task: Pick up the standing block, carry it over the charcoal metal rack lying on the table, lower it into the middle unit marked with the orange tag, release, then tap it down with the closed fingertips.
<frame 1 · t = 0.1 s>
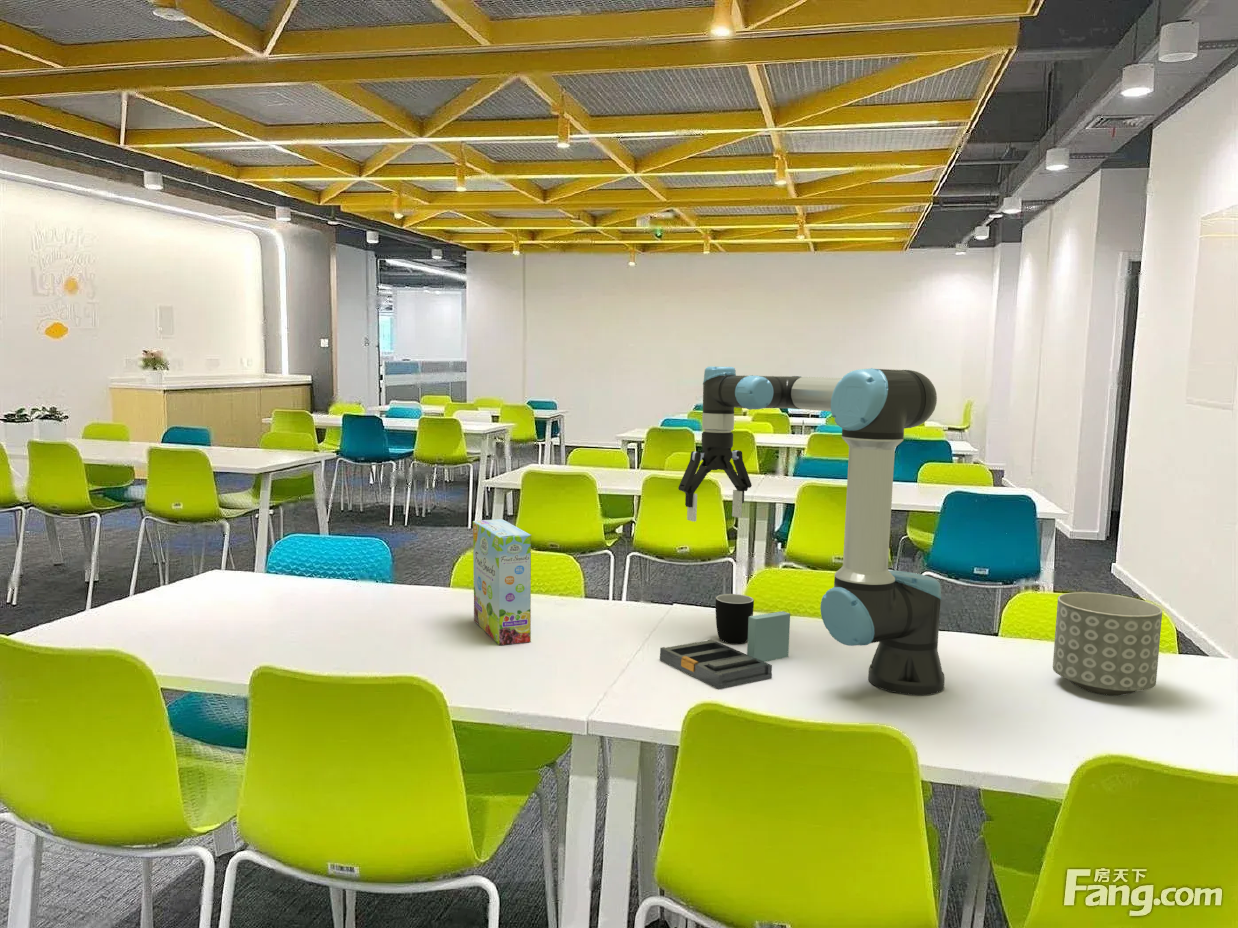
hand: (714, 518, 225), 28 cm above the table, fingers open, 13 cm apart
planter: (1101, 689, 193), on the table
rack: (714, 668, 200), on the table
snack box: (500, 632, 223), on the table
block: (767, 658, 207), on the table
mug: (733, 639, 223), on the table
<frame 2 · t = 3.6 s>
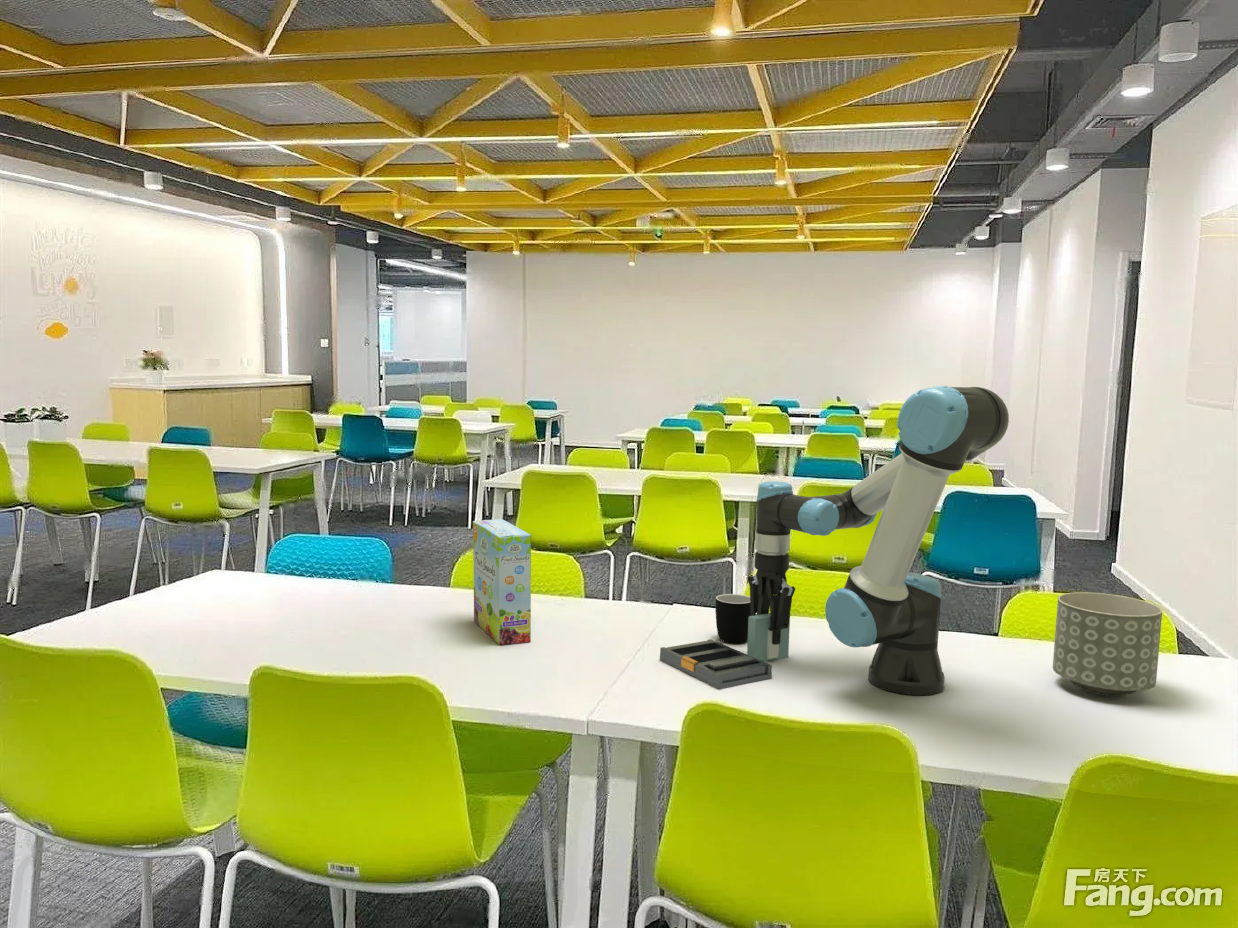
hand: (767, 655, 207), 1 cm above the table, fingers closed on block, 2 cm apart
block: (767, 658, 207), on the table, touching gripper
everything else where it was.
when the fingers open (4 cm above the table, at t = 7.8 s): block drops 2 cm, resting on rack.
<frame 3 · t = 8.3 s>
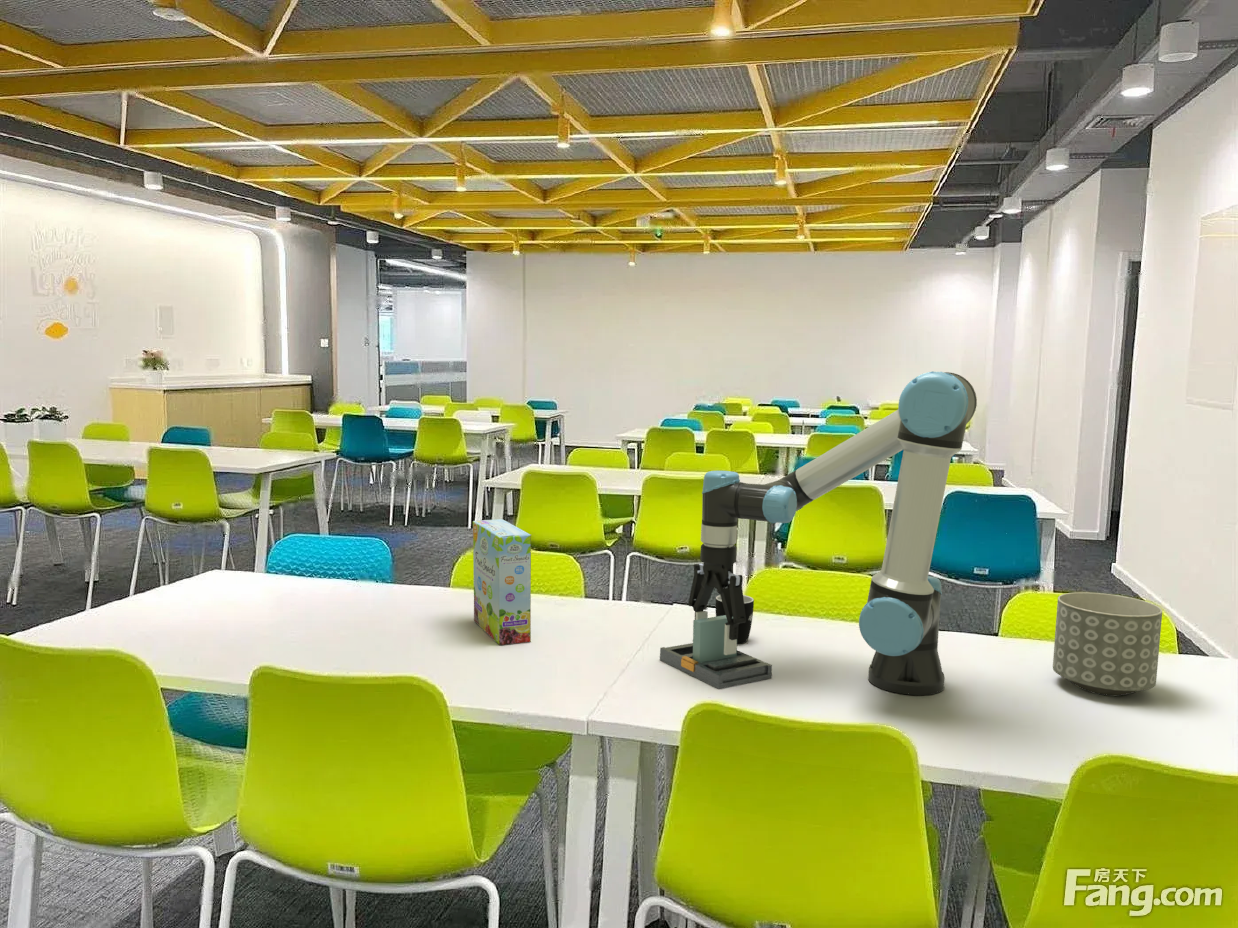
hand: (715, 647, 199), 5 cm above the table, fingers open, 9 cm apart
block: (714, 664, 199), point 1 cm above the table, touching rack
everything else where it was.
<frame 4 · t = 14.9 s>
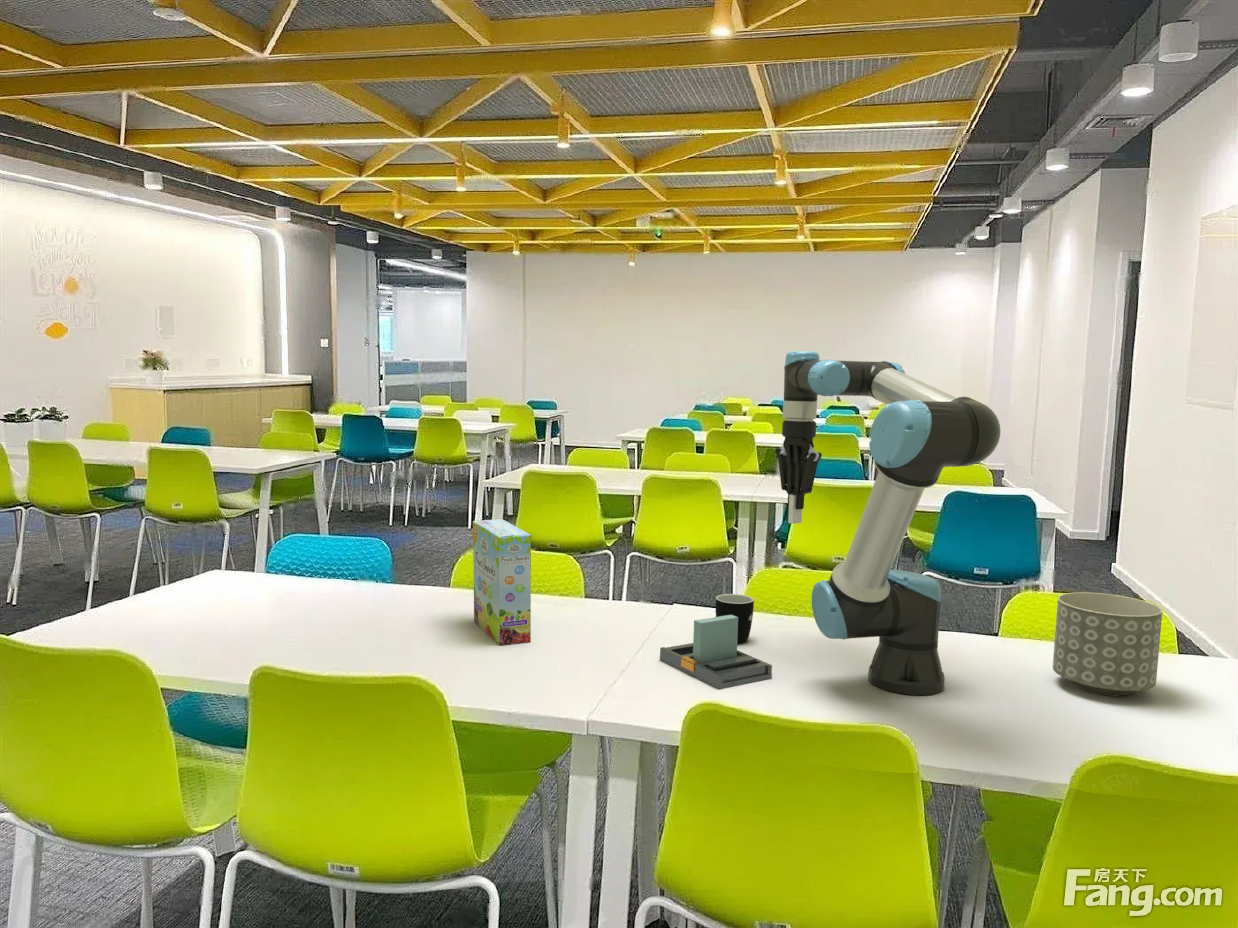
hand: (794, 522, 213), 29 cm above the table, fingers closed
nothing on the table moved.
at the end: block 0.1 cm off-centre on the rack, point 1.0 cm above the rack's base; block tilted 0°; the gripper is holding nothing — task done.
